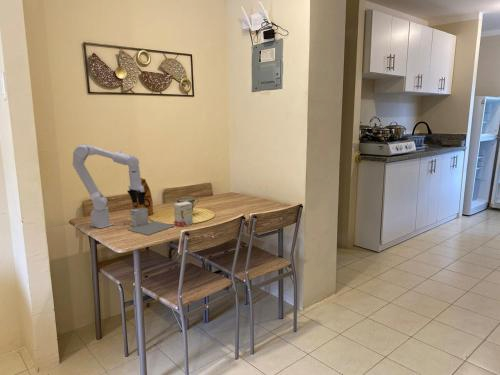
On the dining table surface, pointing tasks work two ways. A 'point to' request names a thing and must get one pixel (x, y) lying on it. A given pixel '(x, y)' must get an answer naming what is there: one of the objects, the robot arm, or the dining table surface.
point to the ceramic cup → (188, 199)
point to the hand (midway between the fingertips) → (138, 203)
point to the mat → (151, 228)
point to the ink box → (183, 214)
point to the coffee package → (145, 199)
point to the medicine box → (139, 217)
